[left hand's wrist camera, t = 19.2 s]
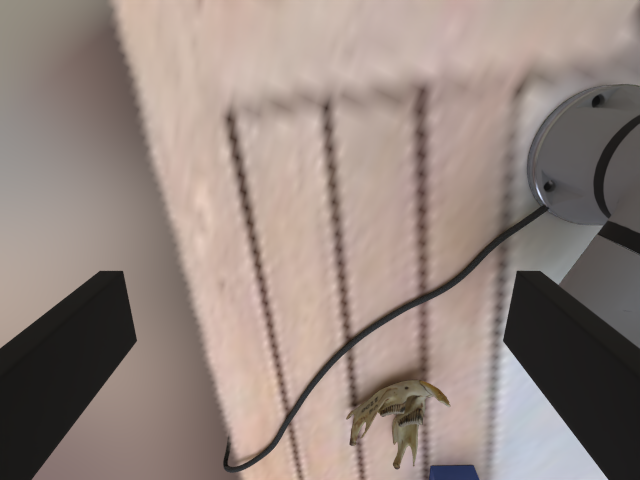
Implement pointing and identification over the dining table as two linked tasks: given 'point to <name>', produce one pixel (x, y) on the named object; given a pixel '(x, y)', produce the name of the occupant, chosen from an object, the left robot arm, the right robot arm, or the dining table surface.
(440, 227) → the dining table surface
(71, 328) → the left robot arm
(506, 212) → the dining table surface
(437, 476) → the brick
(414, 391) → the jawbone
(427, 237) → the dining table surface
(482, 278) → the dining table surface
